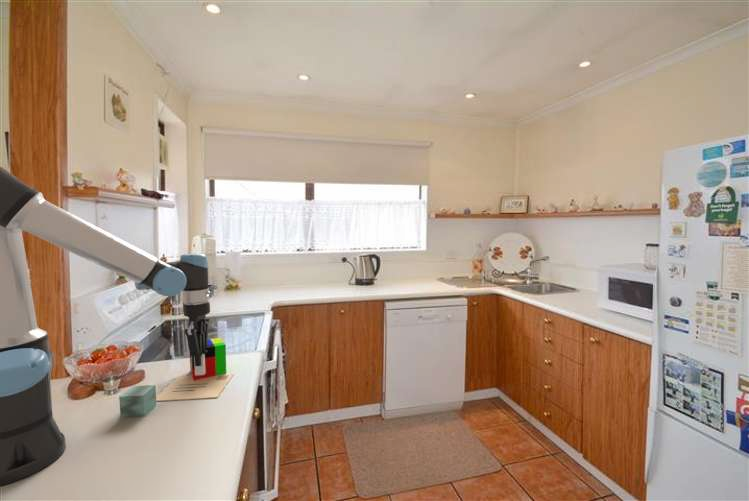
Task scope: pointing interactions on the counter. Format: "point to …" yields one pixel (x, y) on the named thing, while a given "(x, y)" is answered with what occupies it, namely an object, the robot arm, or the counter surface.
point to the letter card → (195, 388)
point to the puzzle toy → (212, 359)
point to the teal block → (137, 401)
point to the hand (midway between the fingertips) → (200, 374)
